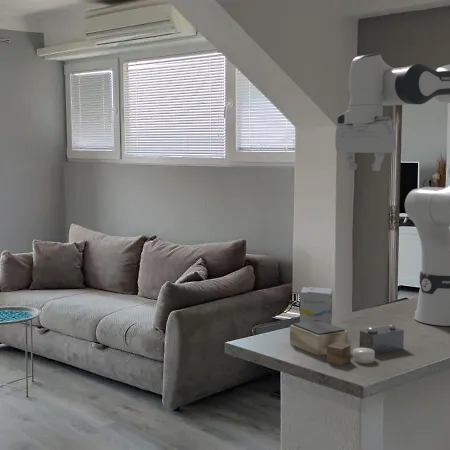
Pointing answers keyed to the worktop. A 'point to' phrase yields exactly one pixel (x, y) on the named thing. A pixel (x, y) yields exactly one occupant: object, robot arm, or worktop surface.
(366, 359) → the white egg shape
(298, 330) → the stand
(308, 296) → the ink box
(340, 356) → the walnut block
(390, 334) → the block
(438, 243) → the robot arm
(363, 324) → the worktop surface
